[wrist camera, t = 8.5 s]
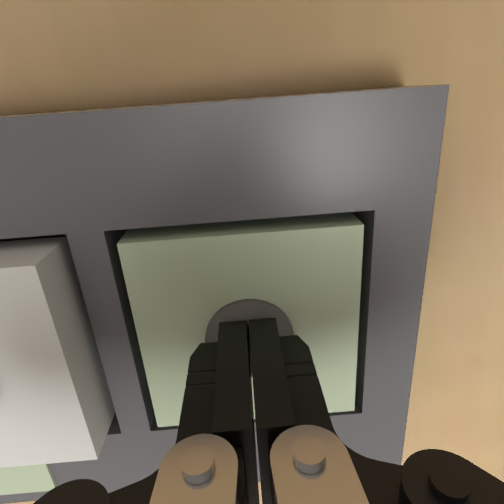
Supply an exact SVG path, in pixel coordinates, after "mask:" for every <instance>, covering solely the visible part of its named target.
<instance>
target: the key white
mask: <svg viewBox="0 0 504 504" xmlns="http://www.w3.org/2000/svg"><path fill="white" fill-rule="evenodd" d="M114 414H115V409H114V405H113V401H112V398H111V394H110V391H109V387H108V383H107V380H106V376H105V373H104V369H103V365H102V362H101V358H100V355H99V351H98V347H97V344H96V340H95V337H94V333H93V329H92V326H91V322H90V319H89V315H88V311H87V308H86V304H85V301H84V297H83V293H82V290H81V286H80V283H79V279H78V275H77V272H76V268H75V265H74V261H73V257H72V254H71V250H70V247H69V243H68V239H67V237H54V238H41V239H28V240H15V241H2V242H0V468H4V467H16V466H27V465H39V464H51V463H62V462H74V461H86V460H97V459H98V457H99V455H100V452H101V449H102V447H103V444H104V441H105V439H106V436H107V433H108V430H109V428H110V425H111V422H112V420H113V417H114Z"/></svg>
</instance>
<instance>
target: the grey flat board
mask: <svg viewBox="0 0 504 504" xmlns="http://www.w3.org/2000/svg"><path fill="white" fill-rule="evenodd" d="M448 91H449V85H428V86H402V87H388V88H374V89H361V90H347V91H333V92H320V93H306V94H292V95H279V96H265V97H251V98H238V99H224V100H210V101H197V102H183V103H169V104H156V105H142V106H128V107H114V108H101V109H87V110H73V111H60V112H46V113H32V114H19V115H5V116H0V242H2V241H15V240H28V239H41V238H54V237H67V239H68V243H69V247H70V250H71V254H72V257H73V261H74V265H75V268H76V272H77V275H78V279H79V283H80V286H81V290H82V293H83V297H84V301H85V304H86V308H87V311H88V315H89V319H90V322H91V326H92V329H93V333H94V337H95V340H96V344H97V347H98V351H99V355H100V358H101V362H102V365H103V369H104V373H105V376H106V380H107V383H108V387H109V391H110V394H111V398H112V401H113V405H114V409H115V414H114V417H113V420H112V422H111V425H110V428H109V430H108V433H107V436H106V439H105V441H104V444H103V447H102V449H101V452H100V455H99V457H98V459H97V460H86V461H74V462H62V463H51V464H39V465H27V466H16V467H4V468H0V504H4V503H15V502H27V501H37V500H38V499H39V498H41V497H42V496H43V495H45V494H46V493H47V492H48V491H50V490H52V489H53V488H55V487H57V486H59V485H61V484H63V483H66V482H69V481H72V480H77V479H91V480H94V481H97V482H99V483H100V484H102V485H103V486H104V487H105V488H106V490H107V492H108V493H111V492H113V491H115V490H118V489H120V488H123V487H125V486H128V485H130V484H133V483H135V482H138V481H140V480H142V479H144V478H146V477H148V476H149V475H151V474H152V473H154V472H155V471H156V470H158V469H159V467H160V464H161V462H162V460H163V458H164V456H165V455H166V454H167V452H168V451H169V450H170V449H171V448H172V447H173V446H174V445H175V443H176V439H177V433H178V427H179V426H167V427H158V426H157V422H156V417H155V413H154V408H153V404H152V400H151V395H150V391H149V386H148V382H147V377H146V373H145V368H144V364H143V359H142V355H141V350H140V346H139V342H138V337H137V333H136V328H135V324H134V319H133V315H132V310H131V306H130V301H129V297H128V293H127V288H126V284H125V279H124V275H123V270H122V266H121V261H120V257H119V252H118V248H117V243H118V242H119V240H120V239H121V238H122V236H123V235H124V234H125V233H126V231H127V230H128V229H137V228H150V227H163V226H176V225H189V224H202V223H215V222H228V221H241V220H253V219H266V218H279V217H292V216H305V215H318V214H331V213H344V212H352V213H353V214H354V215H355V216H356V217H357V218H358V219H359V220H360V221H361V222H362V223H363V224H364V237H363V256H362V275H361V294H360V313H359V332H358V351H357V370H356V389H355V408H354V411H344V412H333V413H329V415H330V419H331V422H332V425H333V428H334V430H335V432H336V434H337V436H338V437H339V438H340V440H341V441H342V442H343V443H344V444H345V445H346V446H347V447H349V448H350V449H352V450H353V451H355V452H356V453H358V454H360V455H362V456H365V457H367V458H370V459H374V460H378V461H383V462H388V463H393V464H397V465H401V461H402V454H403V446H404V438H405V430H406V422H407V414H408V406H409V398H410V390H411V383H412V375H413V367H414V359H415V351H416V343H417V335H418V327H419V319H420V312H421V304H422V296H423V288H424V280H425V272H426V264H427V256H428V248H429V241H430V233H431V225H432V217H433V209H434V201H435V193H436V185H437V177H438V170H439V162H440V154H441V146H442V138H443V130H444V122H445V114H446V106H447V99H448ZM254 427H255V443H256V459H257V474H258V481H261V479H260V468H259V457H258V445H257V434H256V420H255V419H254Z"/></svg>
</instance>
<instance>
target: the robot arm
mask: <svg viewBox="0 0 504 504" xmlns="http://www.w3.org/2000/svg"><path fill="white" fill-rule="evenodd" d="M249 332H250V347H251V361H252V376H253V391H254V406H255V420H256V434H257V445H258V457H259V468H260V479H261V491H262V502H263V504H504V482H502V481H500V480H499V479H497V478H496V477H494V476H492V475H491V474H489V473H487V472H486V471H484V470H483V469H481V468H479V467H478V466H476V465H474V464H473V463H471V462H470V461H468V460H466V459H464V458H462V457H461V456H459V455H456V454H454V453H451V452H447V451H444V450H438V449H427V450H421V451H418V452H416V453H414V454H412V455H411V456H410V457H409V458H407V460H406V461H405V463H404V465H403V466H402V465H397V464H393V463H388V462H383V461H378V460H374V459H370V458H367V457H365V456H362V455H360V454H358V453H356V452H355V451H353V450H352V449H350V448H349V447H347V446H346V445H345V444H344V443H343V442H342V441H341V440H340V438H339V437H338V436H337V434H336V432H335V430H334V428H333V425H332V422H331V419H330V415H329V412H328V409H327V405H326V402H325V399H324V395H323V392H322V389H321V385H320V382H319V379H318V377H317V372H316V369H315V365H314V363H313V359H312V355H311V352H310V349H309V346H308V345H307V344H306V343H305V342H304V341H303V340H302V339H301V338H300V337H299V336H298V335H290V336H279V333H278V328H277V322H276V318H264V319H252V320H249ZM34 504H259V490H258V474H257V459H256V443H255V427H254V411H253V395H252V381H251V368H250V357H249V346H248V334H247V323H246V320H242V321H230V322H219V331H218V342H209V343H200V344H199V346H198V347H197V348H196V350H195V351H194V352H193V354H192V355H191V356H190V361H189V367H188V375H187V379H186V388H185V391H184V397H183V403H182V409H181V415H180V421H179V427H178V433H177V439H176V443H175V445H174V446H173V447H172V448H171V449H170V450H169V451H168V452H167V454H166V455H165V456H164V458H163V460H162V462H161V464H160V467H159V469H158V470H156V471H155V472H154V473H152V474H151V475H149V476H148V477H146V478H144V479H142V480H140V481H138V482H135V483H133V484H130V485H128V486H125V487H123V488H120V489H118V490H115V491H113V492H111V493H108V492H107V490H106V488H105V487H104V486H103V485H102V484H100V483H99V482H97V481H94V480H91V479H77V480H72V481H69V482H66V483H63V484H61V485H59V486H57V487H55V488H53V489H52V490H50V491H48V492H47V493H46V494H45V495H43V496H42V497H41V498H39V499H38V500H37V501H36V502H35V503H34Z"/></svg>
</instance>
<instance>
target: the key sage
mask: <svg viewBox="0 0 504 504" xmlns="http://www.w3.org/2000/svg"><path fill="white" fill-rule="evenodd" d="M363 237H364V224H363V223H362V222H361V221H360V220H359V219H358V218H357V217H356V216H355V215H354V214H353V213H352V212H344V213H331V214H318V215H305V216H292V217H279V218H266V219H253V220H241V221H228V222H215V223H202V224H189V225H176V226H163V227H150V228H137V229H128V230H127V231H126V233H125V234H124V235H123V236H122V238H121V239H120V240H119V242H118V243H117V248H118V252H119V257H120V261H121V266H122V270H123V275H124V279H125V284H126V288H127V293H128V297H129V301H130V306H131V310H132V315H133V319H134V324H135V328H136V333H137V337H138V342H139V346H140V350H141V355H142V359H143V364H144V368H145V373H146V377H147V382H148V386H149V391H150V395H151V400H152V404H153V408H154V413H155V417H156V422H157V426H158V427H167V426H179V421H180V415H181V409H182V403H183V397H184V391H185V388H186V379H187V375H188V367H189V361H190V356H191V355H192V354H193V352H194V351H195V350H196V348H197V347H198V346H199V344H200V343H209V342H218V331H219V322H230V321H242V320H246V323H247V334H248V346H249V357H250V368H251V381H252V395H253V411H254V419H255V406H254V391H253V376H252V361H251V347H250V332H249V320H252V319H264V318H276V322H277V328H278V333H279V336H290V335H298V336H299V337H300V338H301V339H302V340H303V341H304V342H305V343H306V344H307V345H308V346H309V349H310V352H311V355H312V359H313V363H314V365H315V369H316V372H317V377H318V379H319V382H320V385H321V389H322V392H323V395H324V399H325V402H326V405H327V409H328V412H329V413H333V412H344V411H354V408H355V389H356V370H357V351H358V332H359V313H360V294H361V275H362V256H363Z"/></svg>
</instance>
